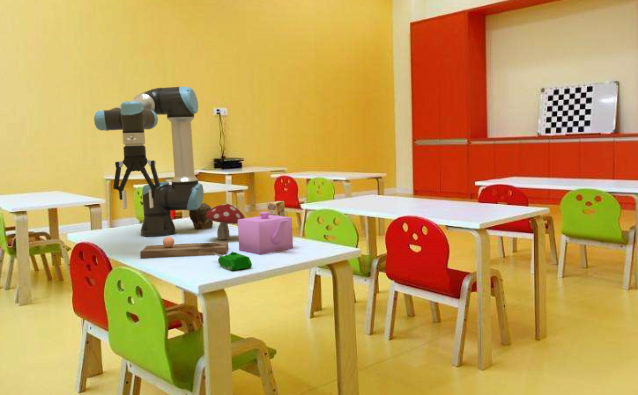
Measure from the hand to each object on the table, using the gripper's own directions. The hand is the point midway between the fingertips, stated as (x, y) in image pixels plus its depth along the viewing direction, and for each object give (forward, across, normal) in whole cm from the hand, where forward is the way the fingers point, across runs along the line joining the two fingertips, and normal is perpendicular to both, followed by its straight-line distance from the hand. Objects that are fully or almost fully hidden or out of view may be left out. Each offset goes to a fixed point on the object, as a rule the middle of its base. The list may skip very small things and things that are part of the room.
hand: (138, 208), depth 208 cm
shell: (+18, +15, +63) cm, 67 cm away
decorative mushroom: (+18, +29, +26) cm, 43 cm away
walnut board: (+17, +16, 0) cm, 24 cm away
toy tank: (+18, +33, -25) cm, 45 cm away
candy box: (+18, +50, +21) cm, 57 cm away
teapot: (+18, +46, -1) cm, 49 cm away
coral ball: (+13, +10, 0) cm, 16 cm away
